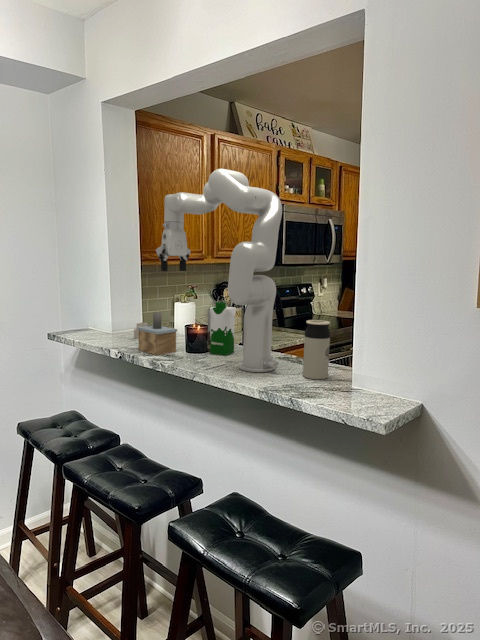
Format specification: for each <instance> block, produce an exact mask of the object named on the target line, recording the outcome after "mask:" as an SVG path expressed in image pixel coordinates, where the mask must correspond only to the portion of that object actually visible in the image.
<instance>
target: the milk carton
mask: <svg viewBox="0 0 480 640" xmlns="http://www.w3.org/2000/svg"><path fill="white" fill-rule="evenodd" d="M209 308H210V317H211V323H210V348H209V354H210V355H217V356H218V355H219V356H225V357H227V356H228V355H230V354H234V353H235V322H236V321H235V318H236V310H237V307H235V306H234V307H233V306H227V303H226V302H224V301H216V302H215V306H213V307H209Z"/></svg>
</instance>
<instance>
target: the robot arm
mask: <svg viewBox="0 0 480 640" xmlns="http://www.w3.org/2000/svg"><path fill="white" fill-rule="evenodd" d="M221 204H224V205H226V207H227V208H229V209H230V210H232V211H234V212H236V213H239V214H250V215H257V216H258V217H257V219H256V220H255V222H254V224H253V227H252V231H251V232H252V233H251V240H250V241H241V242H240V243H238V244H236V245H235V247H234V248H233V250H232V252H231V255H230V261H229V271H228V273H229V274H228V283H227V292H228V297H229V299H230V301H231V302H232V303H233V304H234V305H236V306H246V309H245V311H244V314H243V315H244V317H243V341H242V342H243V343H242V344H243V345H242V348H243V349H242V361H241V362H239V363H238V364H237V367H238V369H239V370H241V371H245V372H249V373H250V372H251V373H265V372H271V371H274V370H276V369H277V367H278V366H279V364H280V363H279V361H276V360H274V356H273V355H272V335H273V332H272V330H273V312H274V307H275V306H274V305H275V302H276V296H277V287H276V286H277V285H276V283H275V281H274V280H273V279H272V278H271V277H269V276H267V275H264V274H263V275H262V274H255V275H254V272H255V273H256V272H258V273H259V272H268V271H271V270H272V269H273V267H275V263H276V257H277V249H278V240H279V231H280V225H281V220H282V215H283V204H282V202H281V198H280V197H279V196H278V195H277V194H276V193H275V192H273V191H271V190H268V189H265V188H261V187H254V186H250V181H249V180H248V177H247V176H246V175H245V174H244V173H242V172H239V171H236V170H232V169H227V168H217V169H215V170H214V171H213V172H211V173H210V175H209V177H208V181H207V182H206V183H205V184H204V186H203V194H197V193H190V192H182V191H180V192H177V193H173V194H172V193H171V194H170V193H169V194H166V195H165V196H164V209H163V210H164V212H163V213H164V218H163V219H164V223H163V224H162V227H164V230H162V231H163V232H162V235H161V245H160V246H159V247H157V248H156V249H155V252H156V254H157V257H158V259H159V261H160V271H161V272H168V269H169V268H168V263H169V262H168V258H169V257H170V256H171V257H178V258H179V259H180V260H179V271H181V272H186V271H187V262H188V259H189V257H190V255H191V251H192V250H191V249H189V247H188V240H187V239H188V238H187V234H186V231H185V230H184V229H185V228H184V227H185V214H191V215H205V214H208V213H210V212H214V211H215V210H217V208H218V207H219V206H220V205H221Z"/></svg>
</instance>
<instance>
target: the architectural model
mask: <svg viewBox="0 0 480 640" xmlns="http://www.w3.org/2000/svg"><path fill="white" fill-rule="evenodd" d="M146 326H148V322H139V323H136V327H134V329H133V330H132V332H133V336H134V337H133V338H134V339H135V340H139V330H138V327H146Z"/></svg>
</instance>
